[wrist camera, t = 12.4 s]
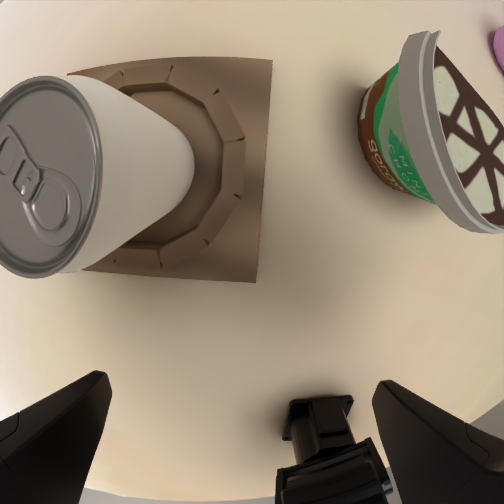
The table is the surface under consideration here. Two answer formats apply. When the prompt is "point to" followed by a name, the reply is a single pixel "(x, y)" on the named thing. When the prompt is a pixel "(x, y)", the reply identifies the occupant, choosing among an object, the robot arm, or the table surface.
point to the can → (82, 173)
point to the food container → (435, 137)
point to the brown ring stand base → (201, 165)
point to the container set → (499, 46)
